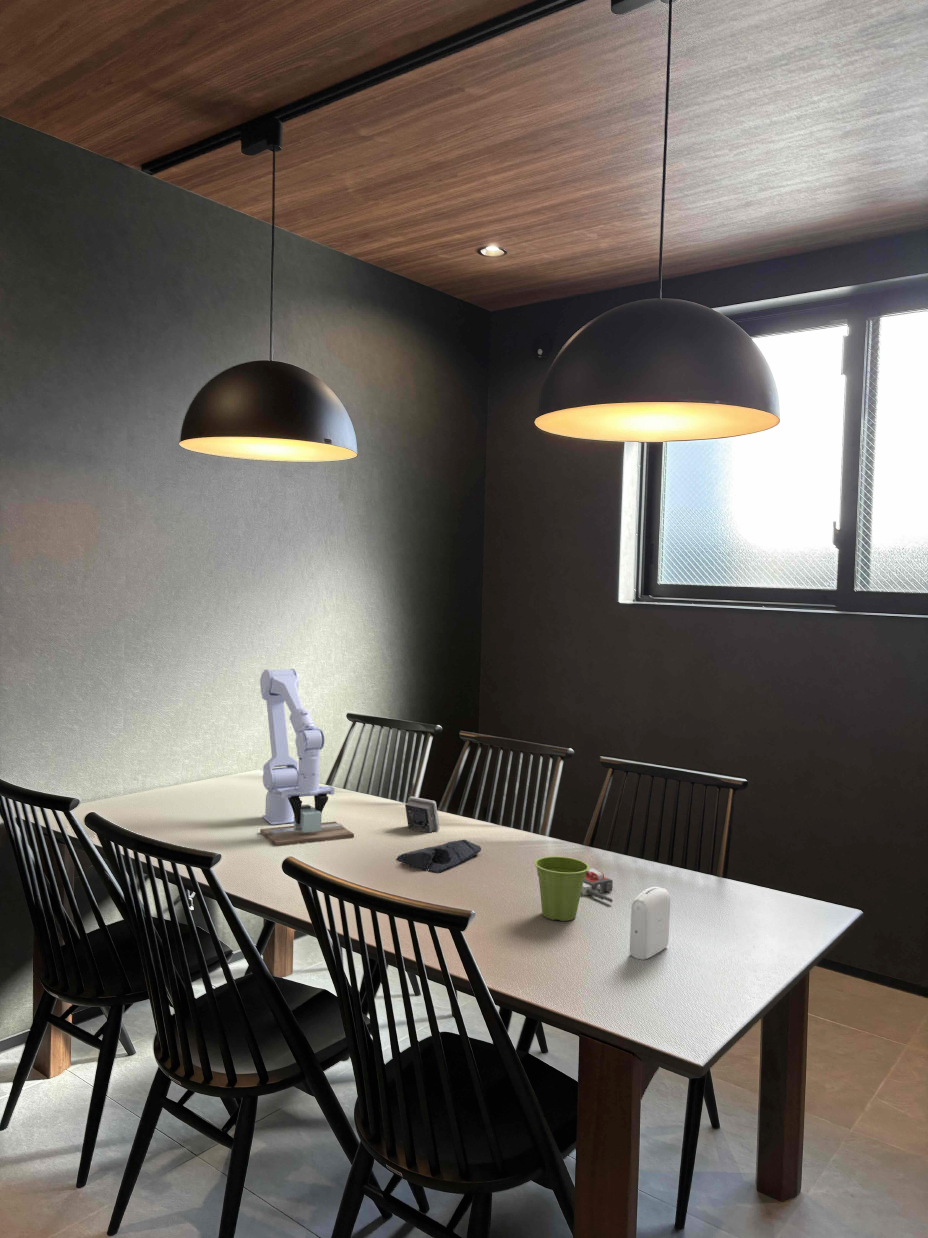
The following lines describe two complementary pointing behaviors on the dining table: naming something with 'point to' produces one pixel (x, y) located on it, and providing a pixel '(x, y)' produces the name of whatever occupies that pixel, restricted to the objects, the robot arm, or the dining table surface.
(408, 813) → the electrical switch
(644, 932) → the photo printer
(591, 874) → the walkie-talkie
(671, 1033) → the dining table surface
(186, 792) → the dining table surface
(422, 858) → the dark slate chunk
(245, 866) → the dining table surface
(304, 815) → the module
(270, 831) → the rail board
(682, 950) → the dining table surface
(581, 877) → the plant pot
